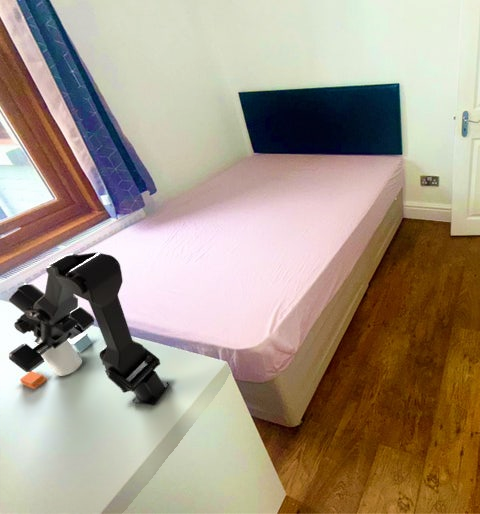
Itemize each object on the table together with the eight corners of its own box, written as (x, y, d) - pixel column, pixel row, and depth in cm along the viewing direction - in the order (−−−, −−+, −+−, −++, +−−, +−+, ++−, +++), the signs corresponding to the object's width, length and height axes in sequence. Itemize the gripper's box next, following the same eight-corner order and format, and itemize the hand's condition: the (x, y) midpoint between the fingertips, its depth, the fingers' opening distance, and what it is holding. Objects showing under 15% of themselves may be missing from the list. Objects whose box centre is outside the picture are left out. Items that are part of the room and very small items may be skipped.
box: (93, 342, 109) (87, 333, 107) (79, 353, 106) (73, 344, 104) (80, 339, 112) (74, 330, 110) (67, 349, 109) (60, 341, 107)
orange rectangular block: (47, 379, 99) (43, 374, 98) (35, 389, 96) (31, 384, 95) (35, 375, 101) (31, 370, 100) (23, 384, 99) (18, 379, 98)
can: (70, 377, 98) (45, 345, 92) (52, 376, 99) (26, 345, 93) (88, 359, 103) (65, 327, 97) (70, 358, 105) (47, 327, 99)
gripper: (64, 282, 95) (62, 309, 105) (-14, 330, 81) (-7, 356, 91) (98, 308, 95) (93, 333, 105) (27, 361, 81) (28, 383, 91)
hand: (54, 349), depth 98 cm, fingers open, 9 cm apart
